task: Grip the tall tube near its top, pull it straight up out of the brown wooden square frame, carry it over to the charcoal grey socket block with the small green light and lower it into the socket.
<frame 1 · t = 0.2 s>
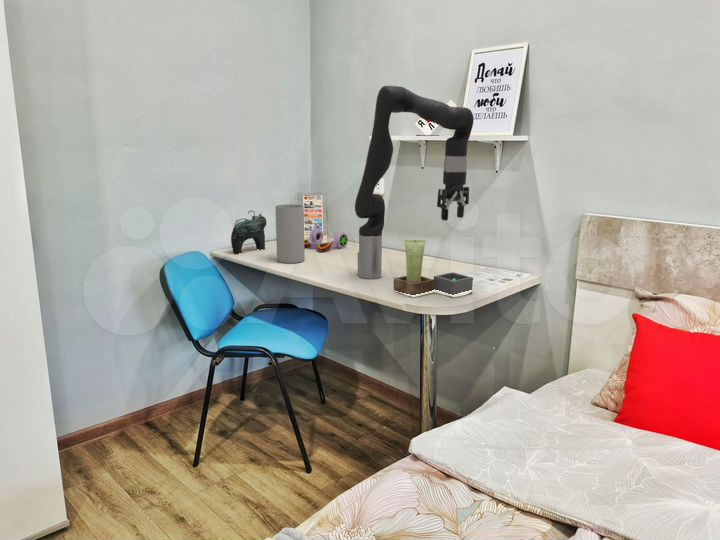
hand: (452, 218, 189), 29 cm above the table, tool pointing down, fingers open, 8 cm apart
brown wooden square frame: (413, 292, 206), on the table
cylinder vase: (290, 261, 256), on the table
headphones: (321, 248, 286), on the table
ceramic cat: (250, 251, 276), on the table
tube: (413, 292, 206), resting in brown wooden square frame
socket block: (452, 292, 206), on the table
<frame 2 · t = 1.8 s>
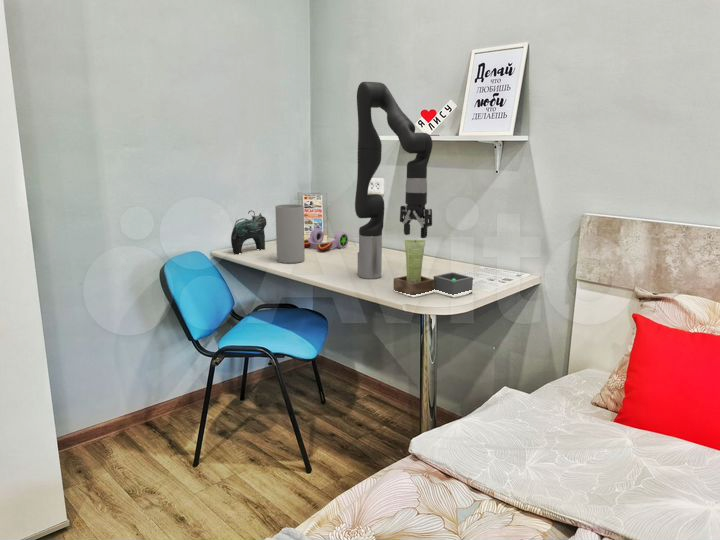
hand: (415, 236, 201), 21 cm above the table, tool pointing down, fingers open, 8 cm apart
nothing on the table moved.
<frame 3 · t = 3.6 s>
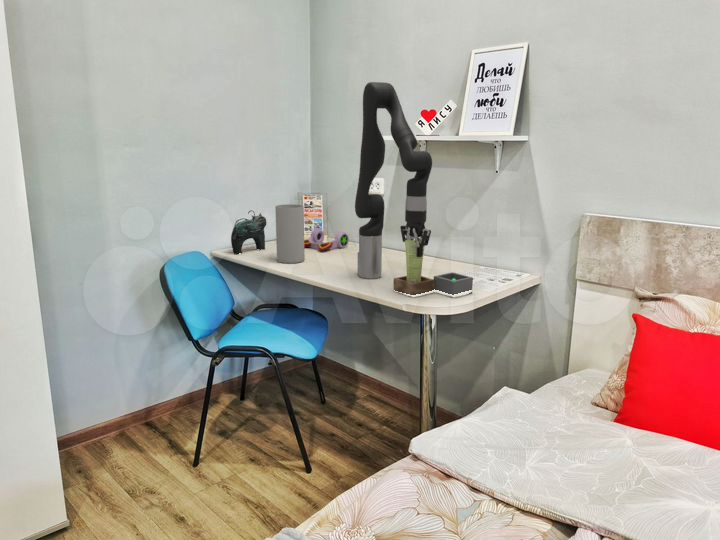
hand: (414, 255, 203), 14 cm above the table, tool pointing down, fingers closed on tube, 4 cm apart
tube: (413, 292, 206), resting in brown wooden square frame, touching gripper
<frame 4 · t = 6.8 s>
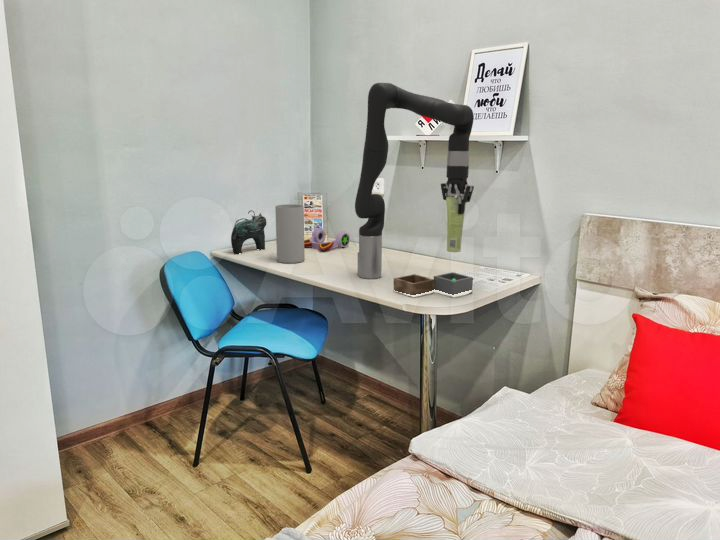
hand: (455, 213, 199), 29 cm above the table, tool pointing down, fingers closed on tube, 4 cm apart
tube: (454, 251, 202), point 15 cm above the table, touching gripper
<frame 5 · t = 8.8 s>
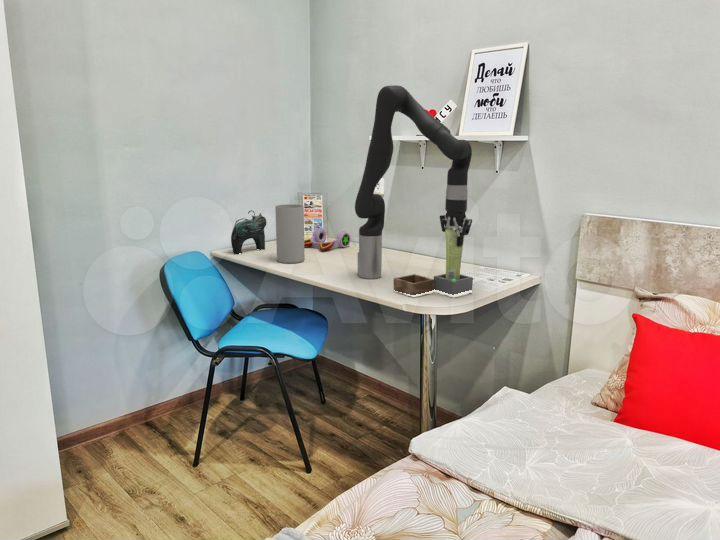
hand: (454, 245, 202), 18 cm above the table, tool pointing down, fingers closed on tube, 4 cm apart
tube: (452, 282, 205), point 4 cm above the table, touching gripper
when the fingers open (15 cm above the table, at t = 10.3 s): tube stays where it is, resting on socket block.
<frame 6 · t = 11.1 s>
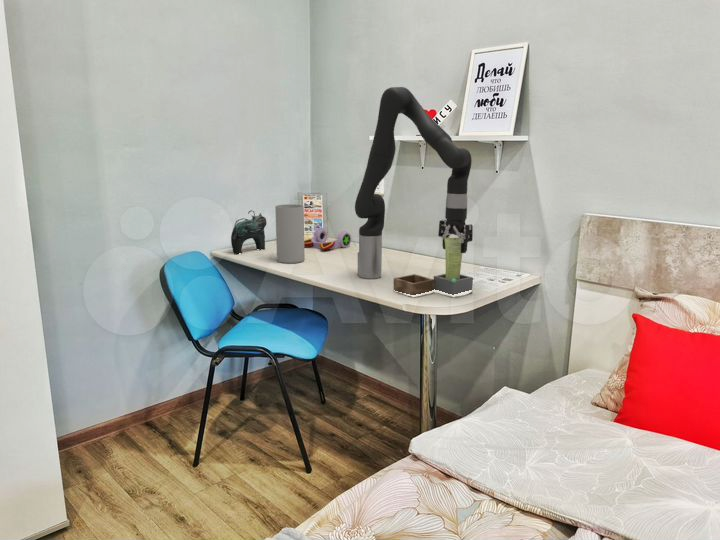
hand: (454, 250, 202), 16 cm above the table, tool pointing down, fingers open, 8 cm apart
tube: (452, 290, 206), point 1 cm above the table, touching socket block
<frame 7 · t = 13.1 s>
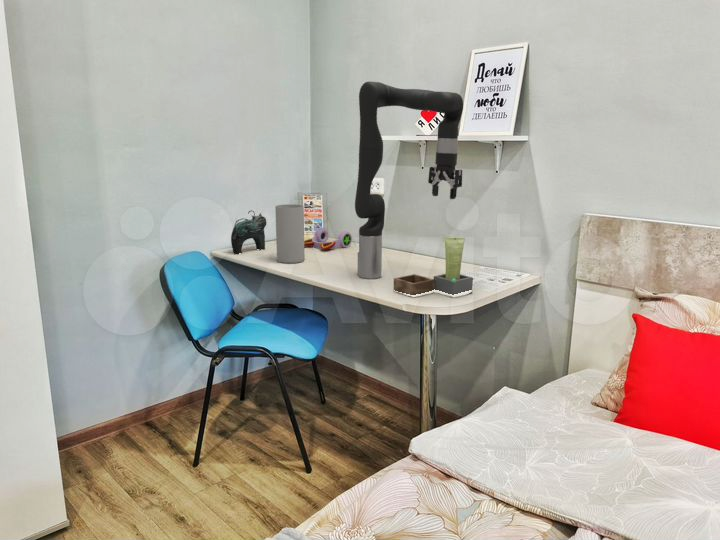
hand: (443, 197, 202), 34 cm above the table, tool pointing down, fingers open, 8 cm apart
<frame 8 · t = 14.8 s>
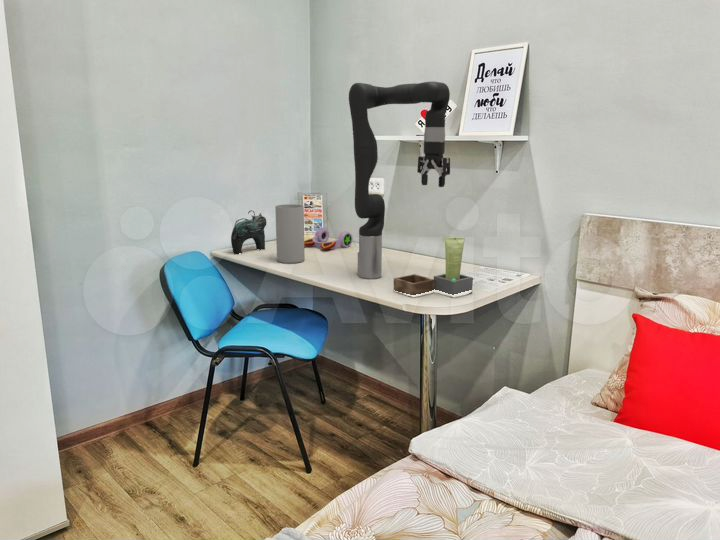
hand: (432, 186, 205), 38 cm above the table, tool pointing down, fingers open, 8 cm apart
at the end: tube 0.1 cm off-centre on the socket block, point 0.8 cm above the socket block's base; tube tilted 0°; the gripper is holding nothing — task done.
